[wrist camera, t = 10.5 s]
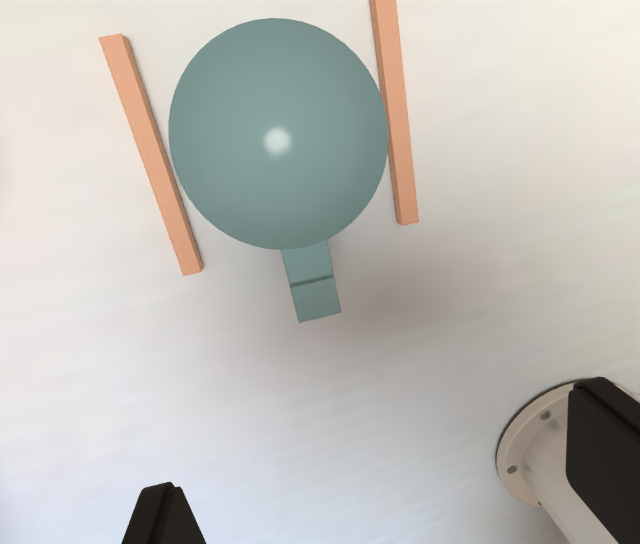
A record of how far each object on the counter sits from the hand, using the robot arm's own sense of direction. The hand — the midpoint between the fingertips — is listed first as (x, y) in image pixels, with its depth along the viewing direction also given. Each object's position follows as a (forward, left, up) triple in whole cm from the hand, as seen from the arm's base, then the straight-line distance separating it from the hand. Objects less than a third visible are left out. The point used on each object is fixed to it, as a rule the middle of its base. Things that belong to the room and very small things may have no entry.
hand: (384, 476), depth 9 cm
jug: (0, -5, -16) cm, 17 cm away
